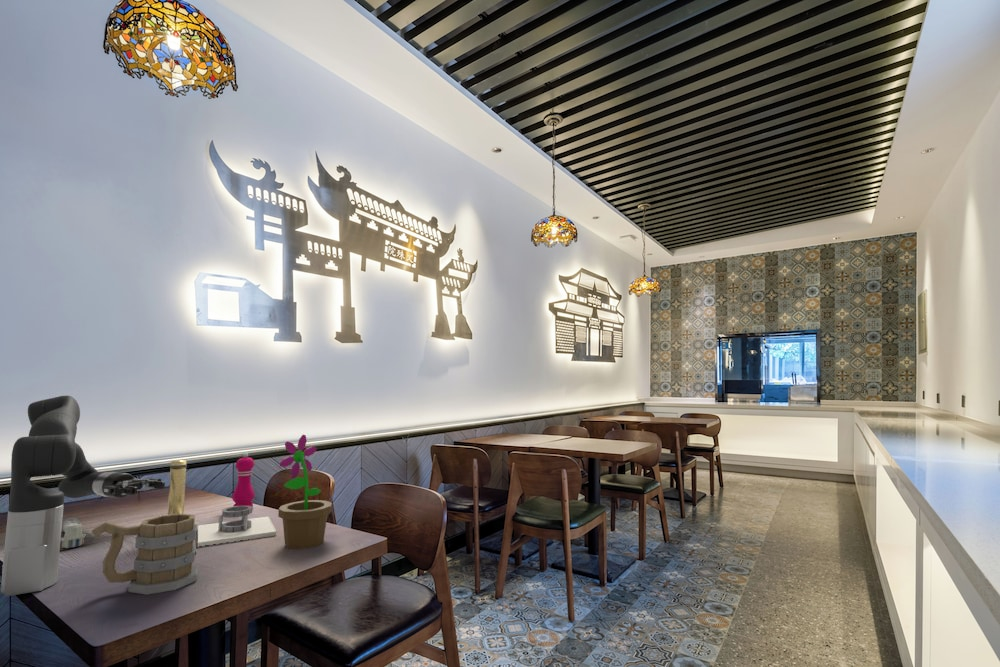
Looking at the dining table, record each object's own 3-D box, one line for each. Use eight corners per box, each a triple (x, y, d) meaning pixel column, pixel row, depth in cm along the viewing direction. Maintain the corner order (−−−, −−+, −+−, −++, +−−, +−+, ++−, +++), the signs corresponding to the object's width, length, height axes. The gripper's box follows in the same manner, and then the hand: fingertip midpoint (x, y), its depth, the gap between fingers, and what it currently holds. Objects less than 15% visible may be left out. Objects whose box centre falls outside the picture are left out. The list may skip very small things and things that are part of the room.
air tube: (182, 536, 147) (187, 461, 149) (165, 539, 144) (169, 462, 147) (183, 533, 150) (187, 459, 153) (166, 535, 148) (170, 460, 150)
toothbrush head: (81, 515, 157) (87, 519, 139) (80, 538, 156) (85, 545, 138) (59, 519, 153) (62, 523, 136) (57, 541, 152) (60, 549, 134)
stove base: (276, 535, 147) (277, 511, 148) (197, 547, 137) (199, 521, 138) (268, 520, 164) (269, 498, 165) (197, 529, 154) (199, 506, 155)
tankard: (198, 568, 121) (202, 505, 122) (195, 587, 110) (199, 517, 111) (95, 584, 111) (100, 516, 113) (80, 606, 100) (85, 530, 102)
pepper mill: (229, 511, 175) (232, 454, 177) (234, 507, 182) (237, 452, 184) (251, 510, 177) (254, 453, 179) (255, 505, 184) (258, 451, 186)
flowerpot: (309, 532, 150) (312, 432, 153) (342, 540, 142) (344, 434, 146) (265, 546, 138) (270, 436, 141) (299, 554, 130) (303, 439, 133)
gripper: (90, 476, 151) (127, 479, 146) (137, 469, 165) (172, 471, 159) (88, 501, 150) (125, 505, 145) (135, 492, 164) (171, 495, 159)
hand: (150, 487), depth 152 cm, fingers open, 8 cm apart
